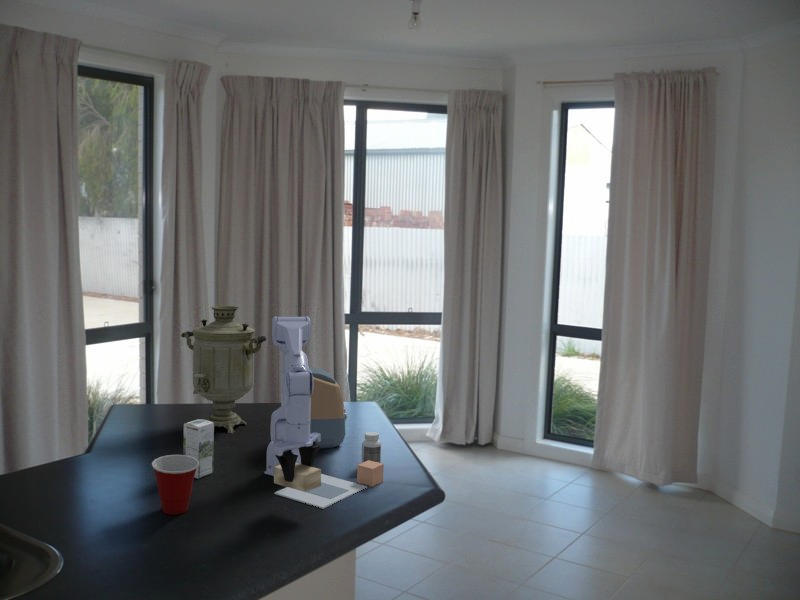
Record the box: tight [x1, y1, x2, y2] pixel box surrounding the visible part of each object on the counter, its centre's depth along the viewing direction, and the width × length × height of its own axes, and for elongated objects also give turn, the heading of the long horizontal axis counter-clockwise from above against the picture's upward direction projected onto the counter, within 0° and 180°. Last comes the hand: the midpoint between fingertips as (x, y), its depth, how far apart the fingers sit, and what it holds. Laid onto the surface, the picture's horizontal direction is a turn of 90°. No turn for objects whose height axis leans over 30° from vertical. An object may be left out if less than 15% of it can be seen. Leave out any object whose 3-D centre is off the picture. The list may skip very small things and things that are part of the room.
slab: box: [273, 463, 322, 492], centre depth 179 cm, size 10×6×4 cm, turn 56°
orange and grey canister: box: [309, 366, 346, 449], centre depth 233 cm, size 17×17×23 cm
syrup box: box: [182, 418, 215, 479], centre depth 203 cm, size 6×6×14 cm
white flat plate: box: [274, 473, 368, 510], centre depth 194 cm, size 16×18×1 cm
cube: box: [356, 460, 384, 487], centre depth 201 cm, size 5×5×5 cm
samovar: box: [180, 305, 267, 434], centre depth 244 cm, size 30×26×40 cm
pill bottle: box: [361, 431, 382, 463], centre depth 213 cm, size 5×5×10 cm
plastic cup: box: [151, 454, 199, 516], centre depth 178 cm, size 11×11×12 cm
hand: (297, 477), depth 179 cm, fingers closed on slab, 5 cm apart
